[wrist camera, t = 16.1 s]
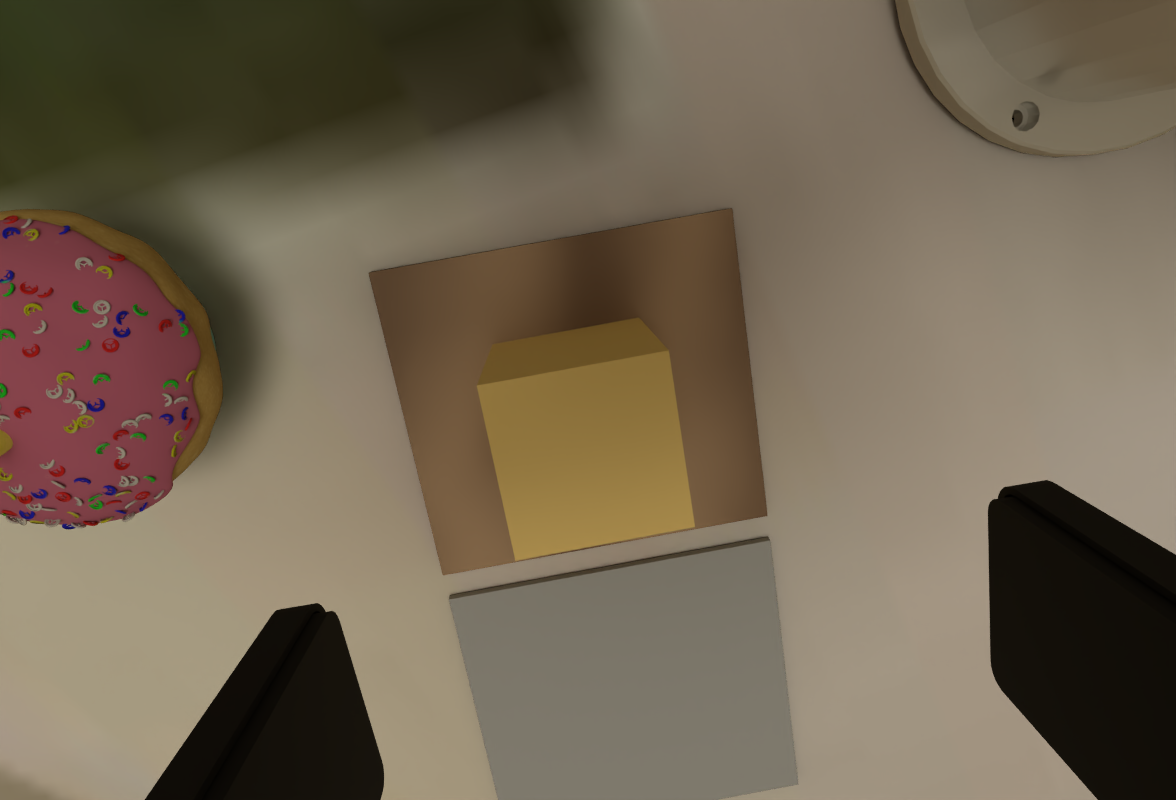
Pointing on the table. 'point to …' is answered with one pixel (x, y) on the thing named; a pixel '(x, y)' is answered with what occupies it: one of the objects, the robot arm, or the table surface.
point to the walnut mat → (560, 303)
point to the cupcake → (96, 372)
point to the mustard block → (585, 438)
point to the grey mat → (633, 679)
